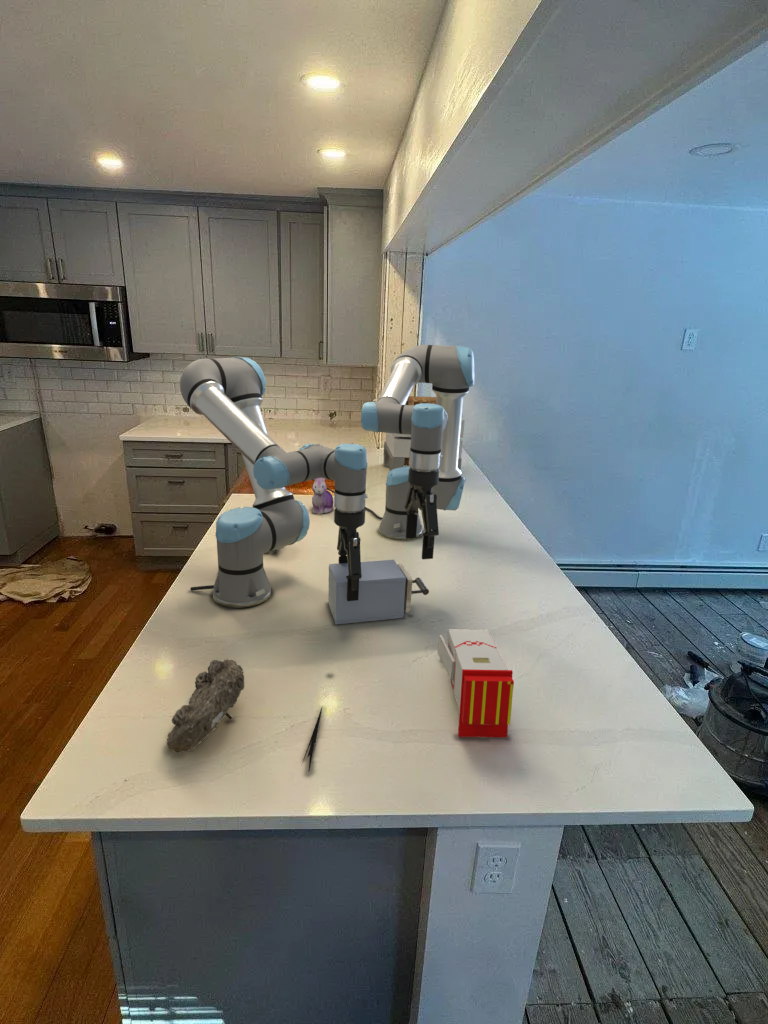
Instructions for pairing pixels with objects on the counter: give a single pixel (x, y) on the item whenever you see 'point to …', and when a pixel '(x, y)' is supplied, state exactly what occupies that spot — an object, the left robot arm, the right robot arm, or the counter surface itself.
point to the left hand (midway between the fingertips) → (347, 589)
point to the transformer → (408, 441)
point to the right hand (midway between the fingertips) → (418, 547)
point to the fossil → (206, 705)
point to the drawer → (409, 588)
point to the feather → (313, 740)
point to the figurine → (321, 497)
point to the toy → (478, 682)
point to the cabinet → (367, 592)
